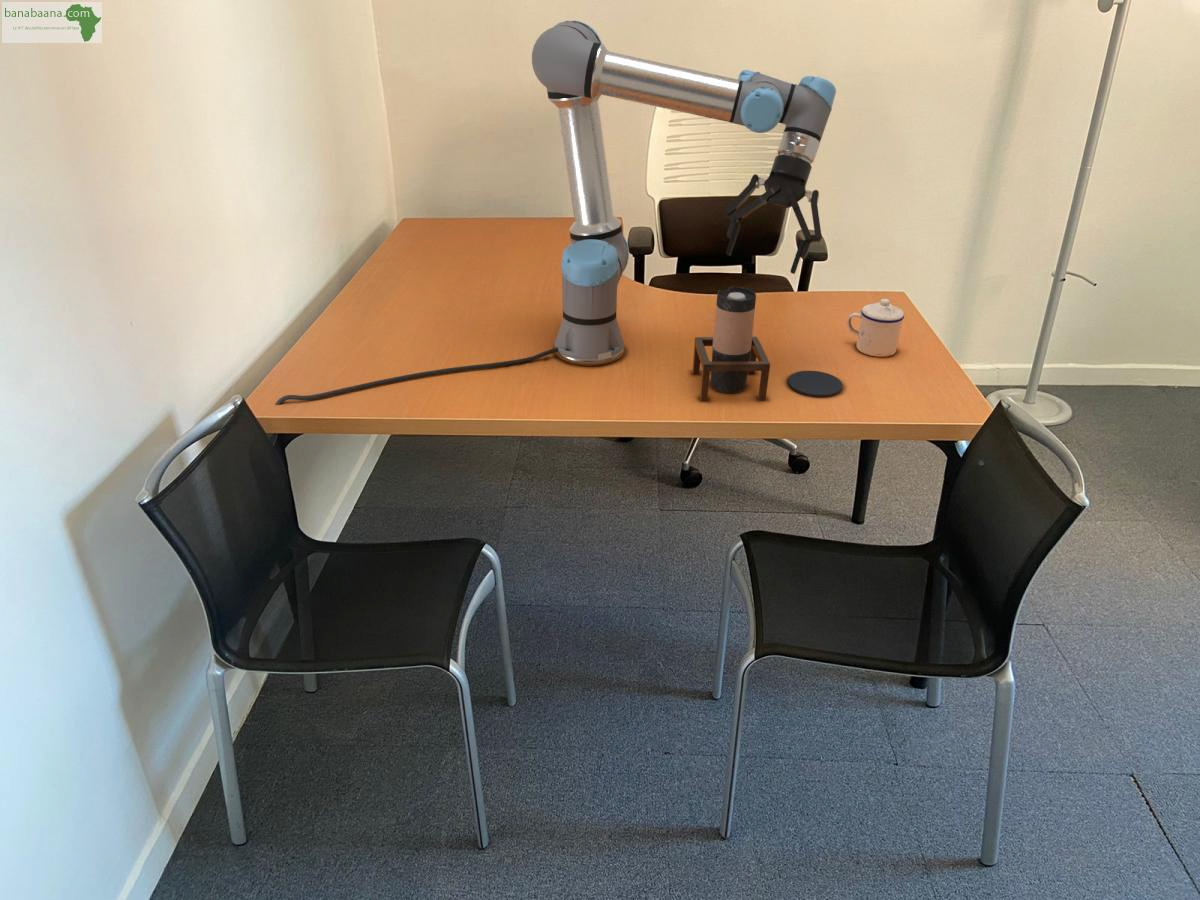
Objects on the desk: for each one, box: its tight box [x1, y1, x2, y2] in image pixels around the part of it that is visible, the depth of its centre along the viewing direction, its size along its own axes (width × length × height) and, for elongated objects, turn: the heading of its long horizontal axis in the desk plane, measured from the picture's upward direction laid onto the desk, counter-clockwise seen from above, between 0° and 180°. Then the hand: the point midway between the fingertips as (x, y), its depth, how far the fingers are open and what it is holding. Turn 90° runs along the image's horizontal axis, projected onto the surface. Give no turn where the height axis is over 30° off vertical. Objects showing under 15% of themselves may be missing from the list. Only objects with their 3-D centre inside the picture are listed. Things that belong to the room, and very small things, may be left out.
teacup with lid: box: [846, 298, 905, 358], centre depth 192 cm, size 12×9×12 cm
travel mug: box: [710, 286, 757, 394], centre depth 173 cm, size 8×8×20 cm
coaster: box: [787, 370, 843, 398], centre depth 178 cm, size 11×11×1 cm
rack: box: [692, 336, 771, 402], centre depth 176 cm, size 13×13×8 cm
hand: (759, 263), depth 176 cm, fingers open, 13 cm apart
